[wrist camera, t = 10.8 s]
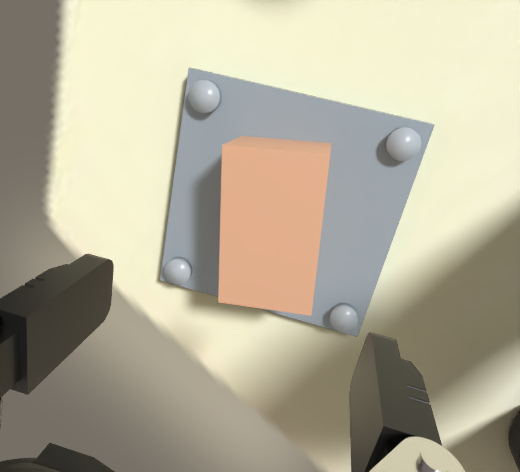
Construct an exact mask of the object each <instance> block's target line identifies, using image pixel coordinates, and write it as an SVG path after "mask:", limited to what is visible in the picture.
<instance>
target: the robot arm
mask: <svg viewBox="0 0 520 472" xmlns="http://www.w3.org/2000/svg"><path fill="white" fill-rule="evenodd" d="M112 282H113V262H112V261H111V260H109V259H106V258H102V257H98V256H95V255H91V254H85V255H84V256H82V257H80V258H79V259H77V260H76V261H74V262H73V263H71V264H69V265H68V264H65V265H62V266H58V267H55V268H51V269H48V270H47V271H45V272H44V273H42V274H40V275H38V276H37V277H36V278H35V279H32V280H30V281H28V282H27V283H25V285H24V286H23V285H22V286H20V287H19V288H17V289H15V290H14V291H12V292H10V293H9V294H7V295H5V296H4V297H2V298H0V427H1V416H2V407H3V400H2V396H3V395H4V394H5V393H6V392H7V391H8V390H9V389H12V390H15V391H18V392H21V393H24V394H27V395H28V394H29V393H30V392H31V391H32V390H33V389H34V388H35V387H36V386H37V385H38V384H39V383H40V382H41V381H43V380H44V379H45V378H46V377H47V376H48V375H49V374H50V373H51V371H53V370H54V369H55V368H56V367H57V366H58V365H59V364H60V363H61V362H62V361H63V360H64V359H65V358H66V357H67V356H68V355H69V354H70V353H72V352H73V351H74V350H75V349H76V348H77V347H78V346H79V345H80V344H81V343H82V342H83V341H84V340H85V339H86V338H87V337H88V336H89V335H90V334H91V333H92V332H93V331H94V330H95V329H96V328H97V327H98V326H100V324H102V322H103V321H104V320H105V318H106V317H107V315H108V312H109V310H110V306H111V296H112ZM349 399H350V436H351V472H465V471H464V469H463V467H462V465H461V464H460V463H459V461H458V460H457V459H456V458H455V457H454V456H453V455H452V454H451V453H450V452H449V451H448V450H447V449H445V448H444V447H443V446H442V444H441V440H440V437H439V433H438V430H437V426H436V423H435V419H434V416H433V412H432V409H431V405H429V398H428V395H427V393H426V388H425V384H424V381H423V377H422V375H421V374H420V373H419V371H418V370H417V369H416V367H415V366H414V365H413V364H412V362H410V361H406V360H403V359H401V358H400V354H399V349H398V345H397V341H396V340H395V339H392V338H389V337H385V336H381V335H378V334H374V333H369V334H368V336H367V338H366V340H365V343H364V346H363V349H362V351H361V354H360V357H359V360H358V363H357V365H356V368H355V371H354V374H353V377H352V381H351V386H350V395H349ZM0 472H114V471H113V470H111V469H110V468H108V467H107V466H105V465H104V464H103V463H101V462H100V461H98V460H97V459H95V458H94V457H91V456H87V455H85V454H82V453H79V452H76V451H73V450H70V449H67V448H63V447H61V446H58V445H55V444H52V443H49V444H48V445H47V447H46V448H45V449H44V450H43V451H42V453H41V454H40V455H39V456H38V457H37V458H21V459H13V460H6V461H2V462H0Z"/></svg>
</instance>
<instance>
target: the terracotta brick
mask: <svg viewBox="0 0 520 472" xmlns="http://www.w3.org/2000/svg"><path fill="white" fill-rule="evenodd" d="M331 144H332V143H324V142H312V141H299V140H287V139H274V138H262V137H249V136H240V137H238V138H236V139H234V140H232V141H230V142H228V143H225V144H223V145H222V169H221V211H220V252H219V294H218V302H219V303H226V304H233V305H240V306H247V307H254V308H261V309H268V310H275V311H282V312H289V313H296V314H303V315H309V316H311V315H312V307H313V298H314V290H315V281H316V273H317V264H318V256H319V247H320V238H321V230H322V221H323V213H324V204H325V196H326V187H327V179H328V170H329V162H330V153H331Z"/></svg>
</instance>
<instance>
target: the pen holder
mask: <svg viewBox="0 0 520 472" xmlns="http://www.w3.org/2000/svg"><path fill="white" fill-rule="evenodd" d="M509 445H510V449H511V452H512V455H513V457H514V460H515V462H516V464H517V467H518V469H519V472H520V413H519V414H518V415H517V417H516V418H515V420H514V422H513V423H512V426H511V428H510V432H509Z"/></svg>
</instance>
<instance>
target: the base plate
mask: <svg viewBox="0 0 520 472" xmlns="http://www.w3.org/2000/svg"><path fill="white" fill-rule="evenodd" d="M433 127H434V124H431V123H427V122H422V121H418V120H414V119H409V118H405V117H401V116H396V115H392V114H388V113H384V112H379V111H375V110H371V109H366V108H362V107H358V106H353V105H349V104H345V103H341V102H336V101H332V100H328V99H323V98H319V97H315V96H310V95H306V94H302V93H298V92H293V91H289V90H285V89H280V88H276V87H272V86H267V85H263V84H259V83H255V82H250V81H246V80H242V79H237V78H233V77H229V76H224V75H220V74H216V73H212V72H207V71H203V70H199V69H194V68H189V69H188V77H187V84H186V92H185V99H184V106H183V114H182V121H181V128H180V136H179V143H178V150H177V158H176V165H175V173H174V180H173V187H172V195H171V202H170V209H169V217H168V224H167V231H166V239H165V246H164V254H163V261H162V268H161V276H160V280H161V281H164V282H168V283H171V284H175V285H178V286H182V287H185V288H189V289H192V290H196V291H199V292H203V293H206V294H210V295H213V296H217V297H218V294H219V252H220V211H221V169H222V145H223V144H225V143H228V142H230V141H232V140H234V139H236V138H238V137H240V136H249V137H262V138H274V139H287V140H299V141H312V142H324V143H332V144H331V153H330V162H329V170H328V179H327V187H326V196H325V204H324V213H323V221H322V230H321V238H320V247H319V256H318V264H317V273H316V281H315V290H314V298H313V307H312V315H311V316H309V315H303V314H296V313H289V312H282V311H275V310H268V309H262V310H265V311H269V312H272V313H276V314H279V315H283V316H286V317H290V318H293V319H297V320H300V321H304V322H307V323H311V324H314V325H318V326H321V327H325V328H328V329H332V330H335V331H339V332H342V333H346V334H349V335H353V336H356V337H357V336H358V333H359V331H360V328H361V325H362V322H363V320H364V317H365V314H366V311H367V309H368V306H369V303H370V300H371V298H372V295H373V292H374V289H375V287H376V284H377V281H378V278H379V276H380V273H381V270H382V267H383V265H384V262H385V259H386V257H387V254H388V251H389V248H390V246H391V243H392V240H393V237H394V235H395V232H396V229H397V226H398V224H399V221H400V218H401V215H402V213H403V210H404V207H405V204H406V202H407V199H408V196H409V193H410V191H411V188H412V185H413V182H414V180H415V177H416V174H417V171H418V169H419V166H420V163H421V160H422V158H423V155H424V152H425V149H426V147H427V144H428V141H429V138H430V136H431V133H432V130H433ZM258 309H261V308H258Z"/></svg>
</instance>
